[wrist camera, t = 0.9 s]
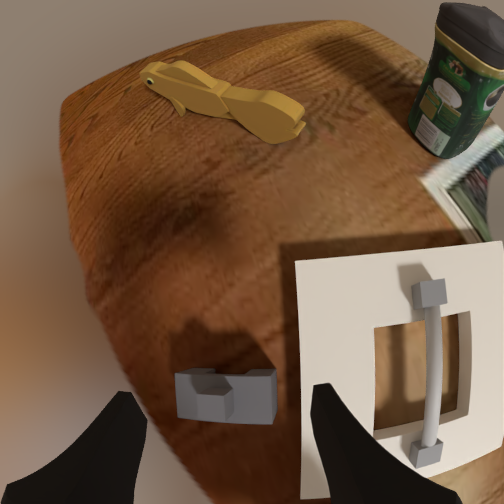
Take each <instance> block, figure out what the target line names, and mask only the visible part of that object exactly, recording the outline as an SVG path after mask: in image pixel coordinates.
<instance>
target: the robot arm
mask: <svg viewBox="0 0 504 504" xmlns="http://www.w3.org/2000/svg"><path fill="white" fill-rule="evenodd" d="M310 418H311V424H312V429H313V435H314V439H315V442H316V445H317V449H318V452H319V455H320V459H321V462H322V465H323V468H324V472H325V475H326V478H327V482H328V487H329V492H330V498H331V504H462V501H461V499H460V497H459V496H458V494H457V493H456V492H455V491H453V490H450V489H448V488H445V487H443V486H441V485H439V484H437V483H435V482H433V481H431V480H429V479H427V478H425V477H423V476H422V475H420V474H419V473H417V472H415V471H414V470H412V469H411V468H409V467H408V466H406V465H405V464H403V463H402V462H401V461H399V460H398V459H397V458H396V457H394V456H393V455H392V454H391V453H390V452H388V451H387V450H386V449H385V448H384V447H383V446H382V445H380V444H379V443H378V442H377V441H376V440H375V439H374V438H373V437H372V436H371V435H370V434H369V433H368V431H367V430H366V429H365V428H364V427H363V426H362V425H361V424H360V422H359V421H358V420H357V419H356V418H355V417H354V415H353V414H352V413H351V412H350V410H349V409H348V408H347V406H346V405H345V404H344V402H343V401H342V400H341V398H340V397H339V395H338V394H337V392H336V391H335V389H334V388H333V386H332V385H331V384H330V383H323V384H317V385H313V392H312V401H311V409H310ZM146 429H147V419H146V417H145V415H144V414H143V412H142V410H141V409H140V407H139V405H138V403H137V402H136V400H135V398H134V396H133V395H132V393H131V392H123V391H118V392H117V394H116V395H115V396H114V397H113V398H112V399H111V401H110V402H109V403H108V404H107V405H106V407H105V408H104V409H103V410H102V411H101V413H100V414H99V415H98V416H97V417H96V419H95V420H94V421H93V422H92V423H91V424H90V426H89V427H88V428H87V429H86V430H85V431H84V432H83V433H82V435H80V437H79V438H78V439H77V440H76V441H75V442H74V443H73V444H72V445H71V446H70V447H68V448H67V449H66V450H65V451H64V452H63V453H62V454H60V455H59V456H58V457H57V458H55V459H54V460H53V461H51V462H50V463H48V464H47V465H45V466H44V467H43V468H41V469H39V470H38V471H36V472H34V473H33V474H30V475H28V476H27V477H24V478H22V479H20V480H17V481H15V482H12V483H10V484H7V486H6V489H5V492H4V495H3V497H2V500H1V504H133V501H134V488H135V483H136V478H137V473H138V469H139V464H140V461H141V457H142V452H143V448H144V444H145V438H146Z"/></svg>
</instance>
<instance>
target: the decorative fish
mask: <svg viewBox="0 0 504 504" xmlns="http://www.w3.org/2000/svg"><path fill="white" fill-rule="evenodd" d="M139 74H140V77H141V79H142V81H143V82H144V83H145V84H146V85H147V86H148V87H149V88H150V89H152V90H154V91H155V92H157V93H159V94H161V95H162V96H164V97H166V98H167V99H169V100H170V101H171V102H172V104H173V105H174V107H175V109H176V110H177V112H178V113H179V115H180V116H181V117H182V116H184V115H185V113H186V110H185V108H187V109H189V110H191V111H193V112H196V113H200V114H205V115H209V116H213V117H221V118H227V119H234V120H237V121H238V122H239V123H241V124H242V125H243V126H244V127H245V128H247V129H248V130H249V131H250V132H252V133H253V134H254V135H256V136H257V137H259V138H260V139H261V140H263V141H264V142H267V143H269V144H277V143H281V142H285V141H288V140H291V139H293V138H295V137H297V136H298V134H299V133H300V132H301V130H302V129H303V128H304V126H305V125H306V123H305V122H303V121H301V120H300V119H301V118H302V116H303V115H304V112H305V110H304V108H303V106H302V105H300V104H299V103H298V102H296V101H294V100H293V99H291V98H289V97H287V96H285V95H283V94H281V93H279V92H276V91H273V90H264V91H260V90H252V89H246V88H240V87H234V86H231V85H230V84H229V82H226V81H223V80H219V79H215V78H212V77H211V76H209V75H208V74H206V73H205V72H203V71H202V70H200V69H199V68H197V67H195V66H194V65H192V64H190V63H188V62H185V61H176V62H174V63H172V64H165V63H163V62H154V63H150V64H149V65H148V66H147V67H145V68H144V69H143V70H142V71H141V72H140V73H139Z"/></svg>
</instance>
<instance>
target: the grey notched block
mask: <svg viewBox="0 0 504 504" xmlns="http://www.w3.org/2000/svg"><path fill="white" fill-rule="evenodd" d="M175 388H176V402H177V415H178V418H184V419H192V420H200V421H210V422H222V423H238V424H272V423H273V421H274V418H275V415H276V413H277V376H276V369H251V370H250V371H248V372H247V373H246V374H216V373H215V369H211V368H191V369H187V370H184V371H181V372H177V373H175Z"/></svg>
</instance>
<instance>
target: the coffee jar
mask: <svg viewBox="0 0 504 504" xmlns="http://www.w3.org/2000/svg"><path fill="white" fill-rule="evenodd" d="M439 9H440V10H439V13H438V17H437V20H436V23H435V42H434V47H433V51H432V55H431V58H430V61H429V64H428V67H427V70H426V73H425V76H424V79H423V81H422V84H421V86H420V89H419V91H418V94H417V96H416V99H415V101H414V103H413V106H412V108H411V111H410V114H409V116H408V125H409V127H410V129H411V131H412V132H413V134H414V135H415V137H416V138H417V139H418V141H419V142H420V143H421V144H422V145H423V146H424V147H425V148H426V149H427V150H429V151H430V152H431V153H433V154H434V155H436V156H438V157H440V158H443V159H449V158H452V157H455V156H457V155H459V154H460V153H462V152H463V151H465V150H466V149H467V148H468V147H469V146H470V145H471V144H472V143H473V141H474V140H475V138H476V137H477V135H478V133H479V132H480V130H481V128H482V127H483V125H484V123H485V122H486V120H487V118H488V117H489V115H490V113H491V112H492V110H493V108H494V107H495V105H496V103H497V101H498V100H499V98H500V96H501V94H502V93H503V91H504V20H503V19H502V18H501V17H499V16H498V15H497V14H495V13H494V12H492V11H491V10H490V9H488V8H487V7H480V6H475V5H471V4H465V3H447V2H446V3H442V4H441V5H440V8H439Z"/></svg>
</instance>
